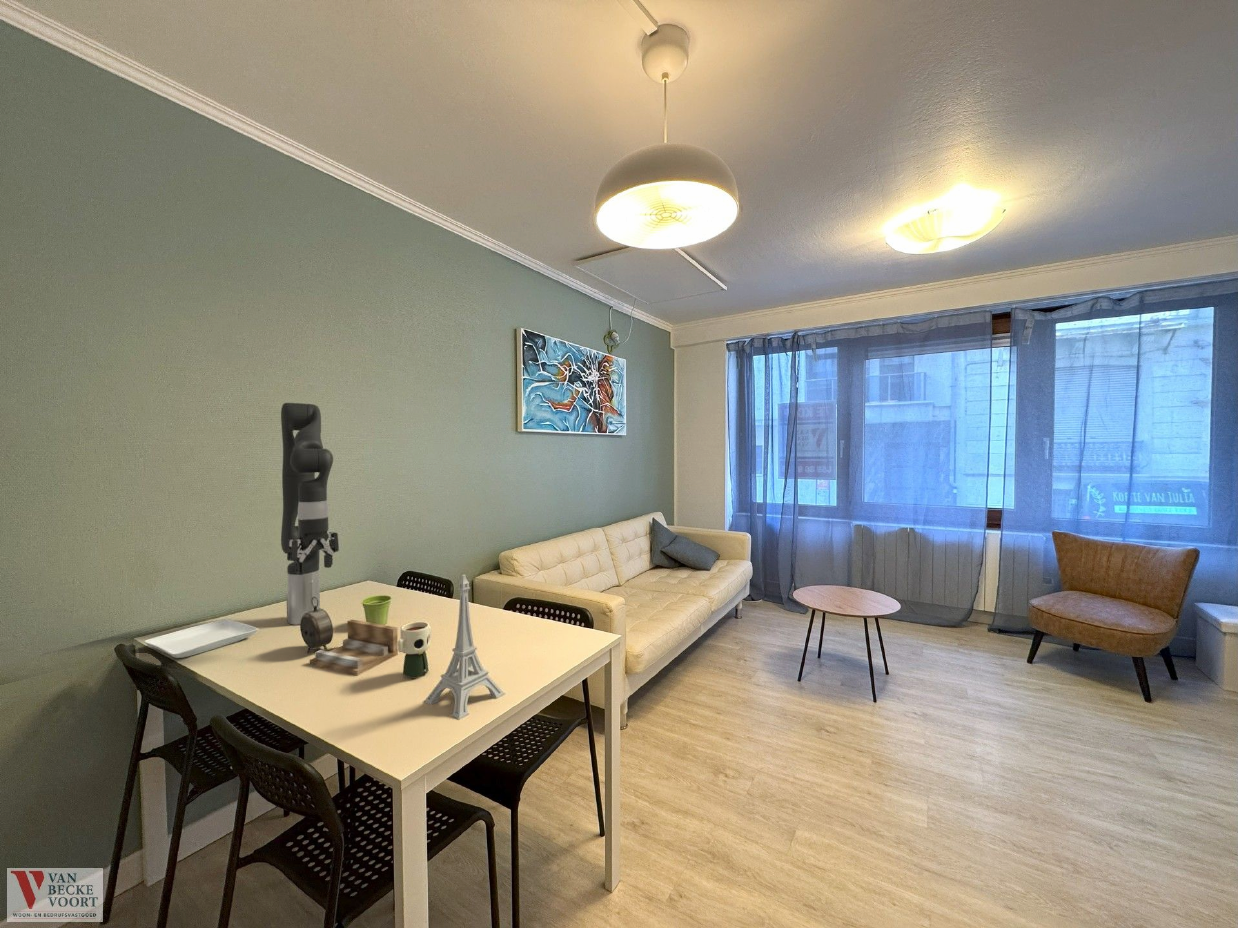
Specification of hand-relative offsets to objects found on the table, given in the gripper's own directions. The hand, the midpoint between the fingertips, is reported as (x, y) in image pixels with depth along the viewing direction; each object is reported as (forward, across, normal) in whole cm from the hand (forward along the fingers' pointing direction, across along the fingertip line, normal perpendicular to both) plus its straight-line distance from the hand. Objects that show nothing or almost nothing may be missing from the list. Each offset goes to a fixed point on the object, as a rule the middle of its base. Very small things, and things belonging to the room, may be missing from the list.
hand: (314, 570), depth 140 cm
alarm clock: (+24, 0, 0) cm, 24 cm away
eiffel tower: (+24, +6, +59) cm, 64 cm away
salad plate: (+24, +9, -37) cm, 45 cm away
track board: (+24, +1, +16) cm, 29 cm away
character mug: (+24, +1, +39) cm, 46 cm away
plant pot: (+24, -22, 0) cm, 33 cm away
